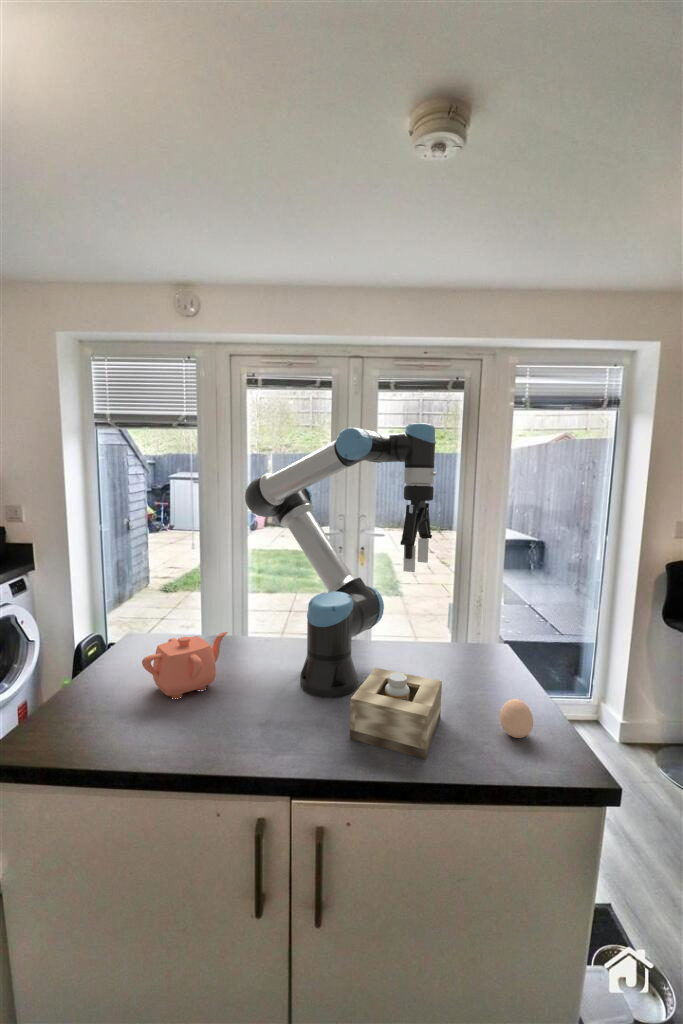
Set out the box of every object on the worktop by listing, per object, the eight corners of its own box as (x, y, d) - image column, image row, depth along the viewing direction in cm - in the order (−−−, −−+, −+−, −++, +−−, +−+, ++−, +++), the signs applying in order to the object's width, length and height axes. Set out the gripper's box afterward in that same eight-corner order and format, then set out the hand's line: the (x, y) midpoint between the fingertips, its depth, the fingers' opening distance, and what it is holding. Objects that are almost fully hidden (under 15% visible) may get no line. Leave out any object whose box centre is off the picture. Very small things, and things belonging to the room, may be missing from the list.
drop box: (349, 738, 90) (350, 698, 90) (374, 702, 105) (375, 667, 104) (425, 759, 84) (427, 716, 83) (440, 718, 99) (441, 681, 98)
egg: (515, 748, 88) (517, 711, 88) (492, 730, 94) (494, 695, 94) (539, 740, 91) (541, 704, 90) (515, 724, 97) (517, 690, 96)
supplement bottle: (400, 729, 91) (401, 685, 90) (379, 719, 94) (380, 677, 93) (413, 718, 95) (414, 676, 94) (392, 709, 98) (393, 669, 97)
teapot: (139, 702, 103) (138, 649, 102) (167, 672, 118) (167, 626, 117) (209, 705, 102) (209, 651, 101) (228, 674, 118) (228, 628, 117)
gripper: (421, 485, 98) (418, 577, 99) (443, 485, 120) (440, 560, 122) (389, 485, 101) (387, 574, 103) (416, 484, 124) (414, 557, 125)
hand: (416, 566), depth 112 cm, fingers open, 13 cm apart
